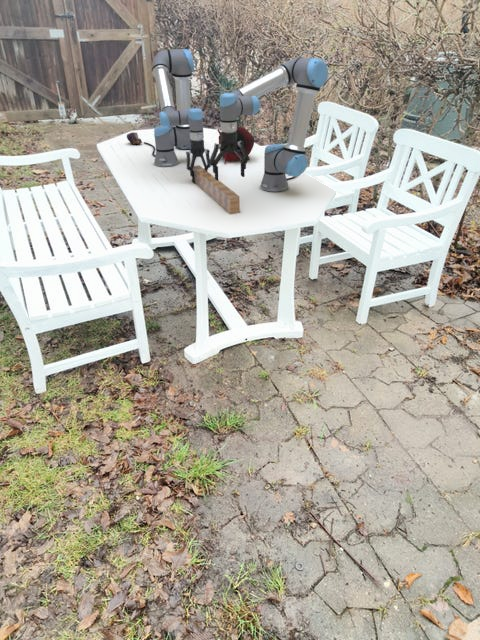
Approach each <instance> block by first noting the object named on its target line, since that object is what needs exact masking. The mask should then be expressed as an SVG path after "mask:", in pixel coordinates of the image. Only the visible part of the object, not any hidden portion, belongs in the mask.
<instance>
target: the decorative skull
mask: <svg viewBox="0 0 480 640" xmlns="http://www.w3.org/2000/svg"><path fill="white" fill-rule="evenodd" d="M221 132H222V131H221V129H217V133H218V144H221ZM236 132H237V142H239V141H240V140H241V141H243V143H244V148H245V150H246V152H247V154H248V156H249V155H251V152H252V151H253V148H254V146H255V138H254V136H253V135H252V133H251V132H249V130H247V129H246V128H245V127H243V126H238V125H237V130H236ZM221 149H222V148H221V147H220V148H219V149H218V150H219V151H220V150H221ZM236 149H237V150H238V151H239V153H240V154H241V155H242V156H243V157H244V155H243V152H242V150H241V148H240V146H239V145H238V146H237V147H236ZM222 159H223V160H224V162H223V163H224V165H225V164H226V163H227V161H232V162H238V161H242V160H241V159H240V158H239V157H238V155H237V154H236V153H235V152H233V153H231V152H230V153H225V154H224V155H223V157H222ZM244 159H245V157H244Z"/></svg>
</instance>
